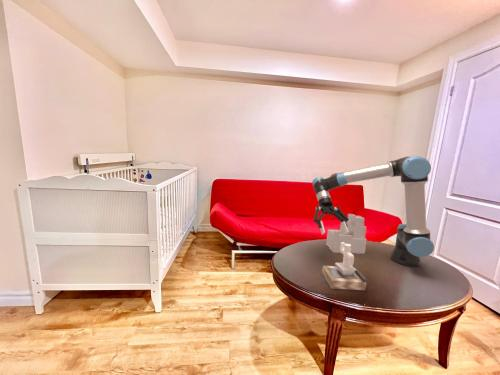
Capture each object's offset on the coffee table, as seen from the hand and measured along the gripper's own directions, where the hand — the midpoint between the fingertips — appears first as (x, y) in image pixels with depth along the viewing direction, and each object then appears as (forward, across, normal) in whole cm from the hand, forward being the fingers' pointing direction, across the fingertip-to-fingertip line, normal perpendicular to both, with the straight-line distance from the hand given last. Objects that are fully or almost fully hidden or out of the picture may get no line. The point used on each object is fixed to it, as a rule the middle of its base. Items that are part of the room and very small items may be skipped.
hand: (335, 233), depth 116 cm
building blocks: (-3, -25, -33) cm, 42 cm away
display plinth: (+22, 0, -8) cm, 24 cm away
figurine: (+19, -1, -5) cm, 20 cm away
